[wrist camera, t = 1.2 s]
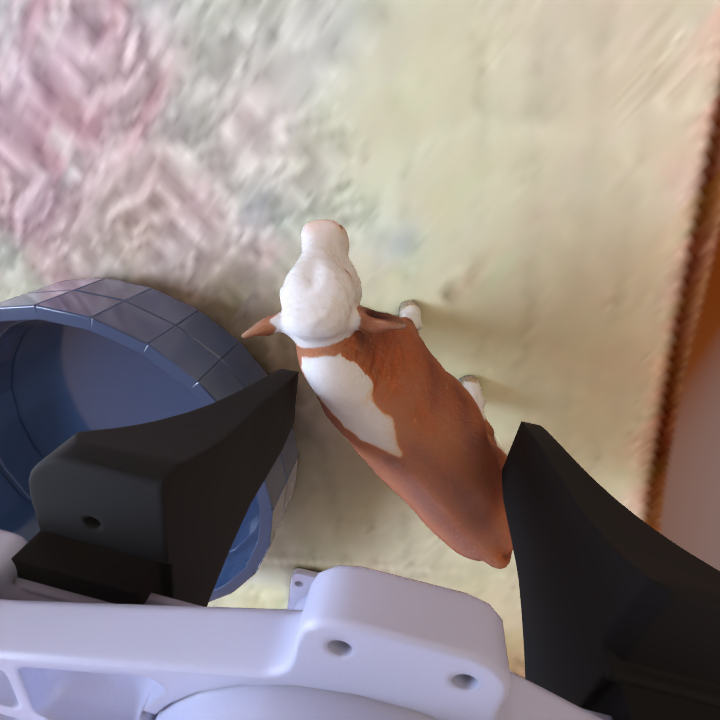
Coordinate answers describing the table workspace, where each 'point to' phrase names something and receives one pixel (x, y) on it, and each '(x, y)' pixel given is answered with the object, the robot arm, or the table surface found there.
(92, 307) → the bowl
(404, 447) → the bull figurine
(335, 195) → the table surface
